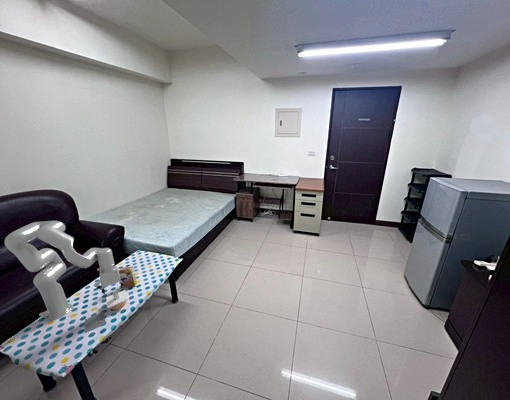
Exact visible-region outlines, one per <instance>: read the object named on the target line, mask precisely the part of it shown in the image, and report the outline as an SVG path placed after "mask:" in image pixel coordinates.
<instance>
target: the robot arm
mask: <svg viewBox="0 0 510 400" xmlns="http://www.w3.org/2000/svg"><path fill="white" fill-rule="evenodd" d="M65 230H66V225H65V223H63V222H61V221H60V220H59V221H58V220H47V221H34V222H31V223H29V224H26V225H25V226H22V227H20V228H18V229H16V230H14V231H12V232H11V233H9V234H8V235H7V236H6V237H5V239H4V245H5V248H7V249H8V251H9V252H11V253H12V254H14V256H15V257H16V258H17V259H18V261H19V262H20V264H22V265H23V266H24V268H25V269H26V270H27V271H29V272H30V273H36V272H38V273H37V274H36V275H35V276H34V278H33V282H32V283H33V284H34V286H35V288H37V290H38V291H39V293H40V295H41V297H42V300H43V302H44V305H45V307H46V309H47V310H45V311H43V312H40V313H39V314H38V315H39V317H41V318H45V317H46V319H47V320H48V321H54V320H57V319H61V318H63V317H64V316H66V315H68V314H69V313H70V312H71V311H72V310H73V308H74V307H73V304H72V303H69V302H68V300H67V296H66V293H65V292H64V289H63V287H62V284H60V283H58V282H57V280H58V279H60V277H61V276H63V275H64V274H65V272H66V271H67V266H66V264H65V262H64V261H63V259H62V258H61V257H60V255H59V254H58V253H57V251H55V250H54V249H52V248H48V247H46V248H42V249H40V250H38V249H37V248H36V246H34V245H33V244H32V243H29V242H31V241H33V240H35V239H36V238H37V239H39V240H40V241H43V242H44V243H47V244H48V245H50V246H53V247H54V248H57V249H58V250H59V251H61V253H62V254H63V256H64V258H65V259H66V261H68V262H69V263H70V264H72V265H74V266H76V267H78V268H81V269H87V268H89V267H92V266H93V264H94V263H95V262H96V261H97V262H98V265H99V267H98V268H96V269H97V272H99V280H97V282H94V284H93V286H94V287H95V288H96V289H97V290H98V289H99V290H100V291H101V294H103V296H104V295H106V291H105V288H106V287H109V286H113V285H115V284H117V283H120V288H121V289H124V288H123V281H124V280H125V278H126V274H120V273H119V268H118V267H117V266H116V265H115V260H114V256H113V251H112V249H111V248H110V247H104V248H101V247H91V248H89V249H88V250H87V251H86V252H84V253H83V254H80V253H78V252H77V251H76V250H75V249H74V241H75V239H74V236H72V235H70V234H67V233H66V232H65ZM43 268H44V269H43ZM39 271H40V272H39ZM120 276H123V278H122V279H121V278H120ZM99 284H100V285H99Z"/></svg>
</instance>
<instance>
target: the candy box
mask: <svg viewBox="0 0 510 400" xmlns="http://www.w3.org/2000/svg"><path fill="white" fill-rule="evenodd" d="M118 271H119V273H120V274H126V278H125V280H124V281H123V286H122V287H123V288H122V289H124V288H132V287H136V286H137V285H138V280H137V277H136V276H137V275H136V273H135V268H134V266H126V267H120V268H118ZM120 278H121V279H122V278H123V276H120Z"/></svg>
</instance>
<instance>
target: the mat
mask: <svg viewBox="0 0 510 400" xmlns="http://www.w3.org/2000/svg"><path fill="white" fill-rule="evenodd" d="M106 323H107V322H106V312H105V311H102V312H100V313H97V314H94V315H93V316H90V317H88V318H86V319H84V334H87V333H88V332H91V331H93V330H95V329H98V328H100V327H102V326H105V325H106Z"/></svg>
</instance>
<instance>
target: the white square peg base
mask: <svg viewBox="0 0 510 400" xmlns="http://www.w3.org/2000/svg"><path fill="white" fill-rule="evenodd" d="M111 293H112V295H108V296H106V305H107V306H106V307H107V309H110V308H111V307H112V306H115V305H117V304H120V303H122V302H124V301H126V302H127V301H128V295H127V291H126V289H124V290H121V291H118V290H113V291H112V292H111Z"/></svg>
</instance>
